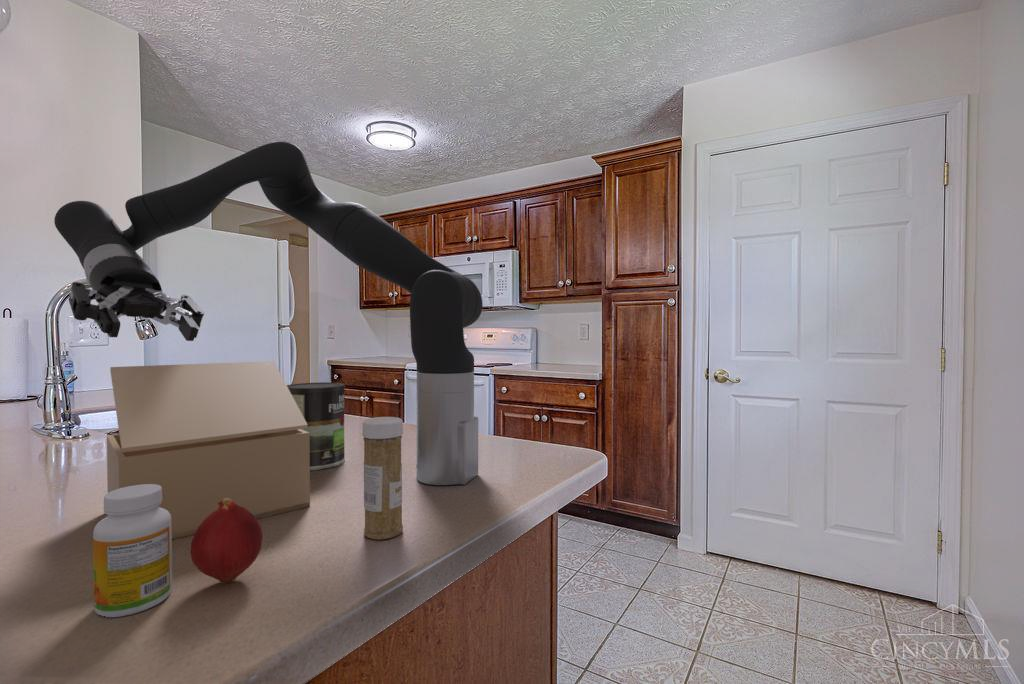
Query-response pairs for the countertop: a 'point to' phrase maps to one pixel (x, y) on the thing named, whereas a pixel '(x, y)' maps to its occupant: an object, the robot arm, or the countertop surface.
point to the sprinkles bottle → (382, 477)
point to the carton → (219, 475)
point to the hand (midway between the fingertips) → (156, 333)
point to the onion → (226, 542)
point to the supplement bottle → (132, 552)
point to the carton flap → (200, 403)
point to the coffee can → (322, 421)
